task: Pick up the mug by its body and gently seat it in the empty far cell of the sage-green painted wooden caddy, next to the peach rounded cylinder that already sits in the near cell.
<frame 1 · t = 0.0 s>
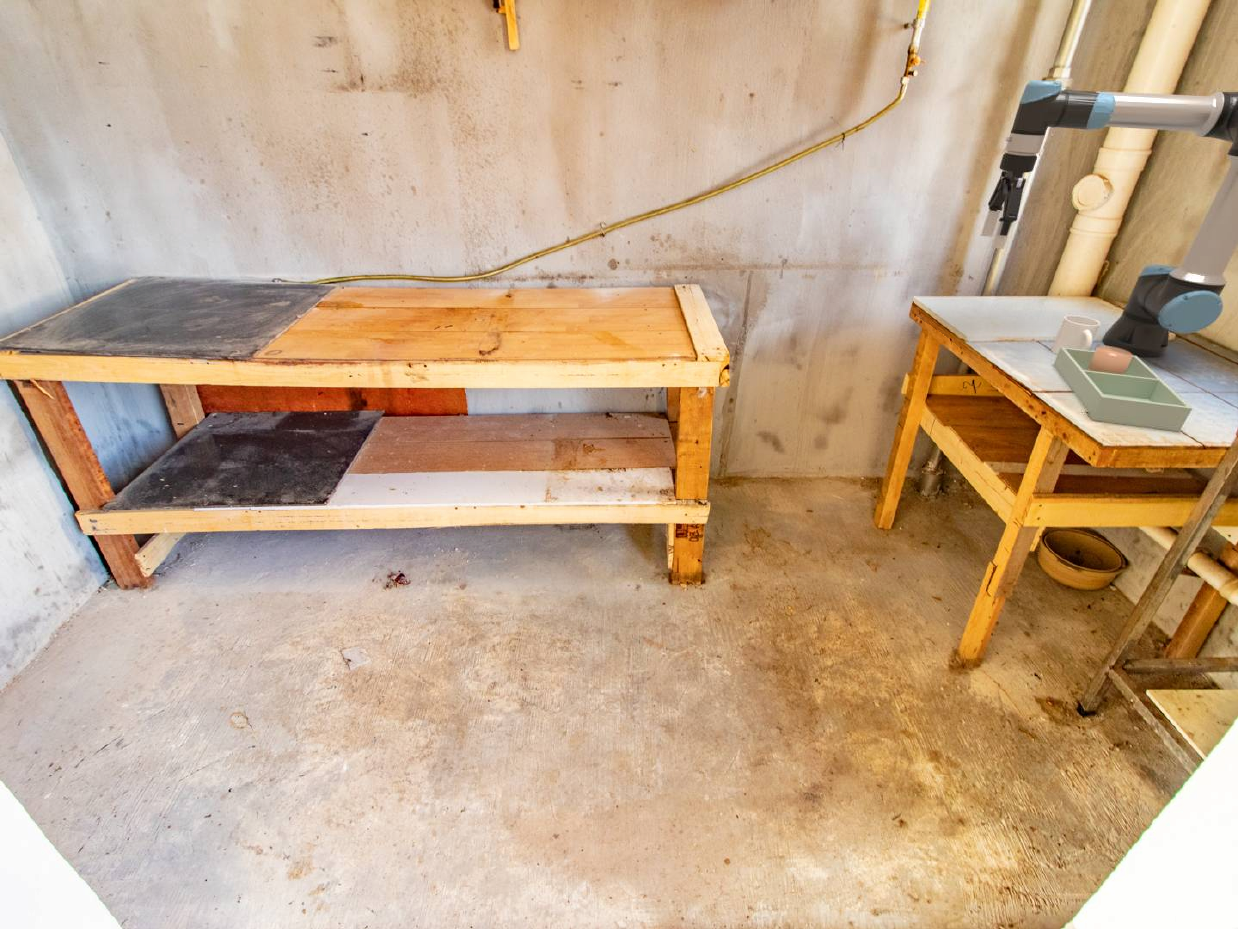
hand: (991, 241, 171), 28 cm above the table, fingers open, 13 cm apart
peach rounded cylinder: (1100, 381, 164), point 1 cm above the table, touching caddy
caddy: (1109, 396, 159), on the table
mug: (1069, 359, 179), on the table
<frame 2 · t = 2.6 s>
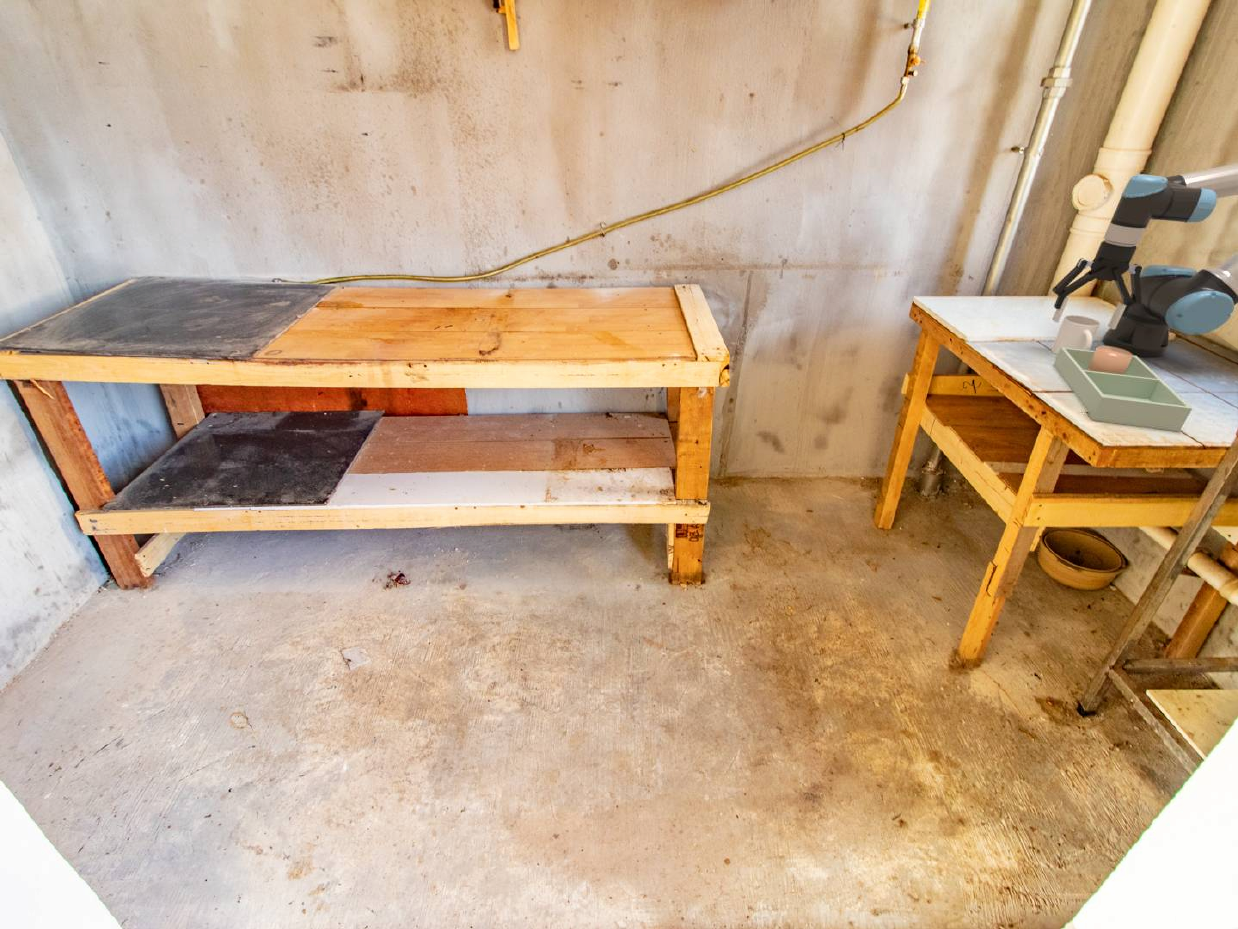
hand: (1083, 324, 174), 10 cm above the table, fingers open, 13 cm apart
nothing on the table moved.
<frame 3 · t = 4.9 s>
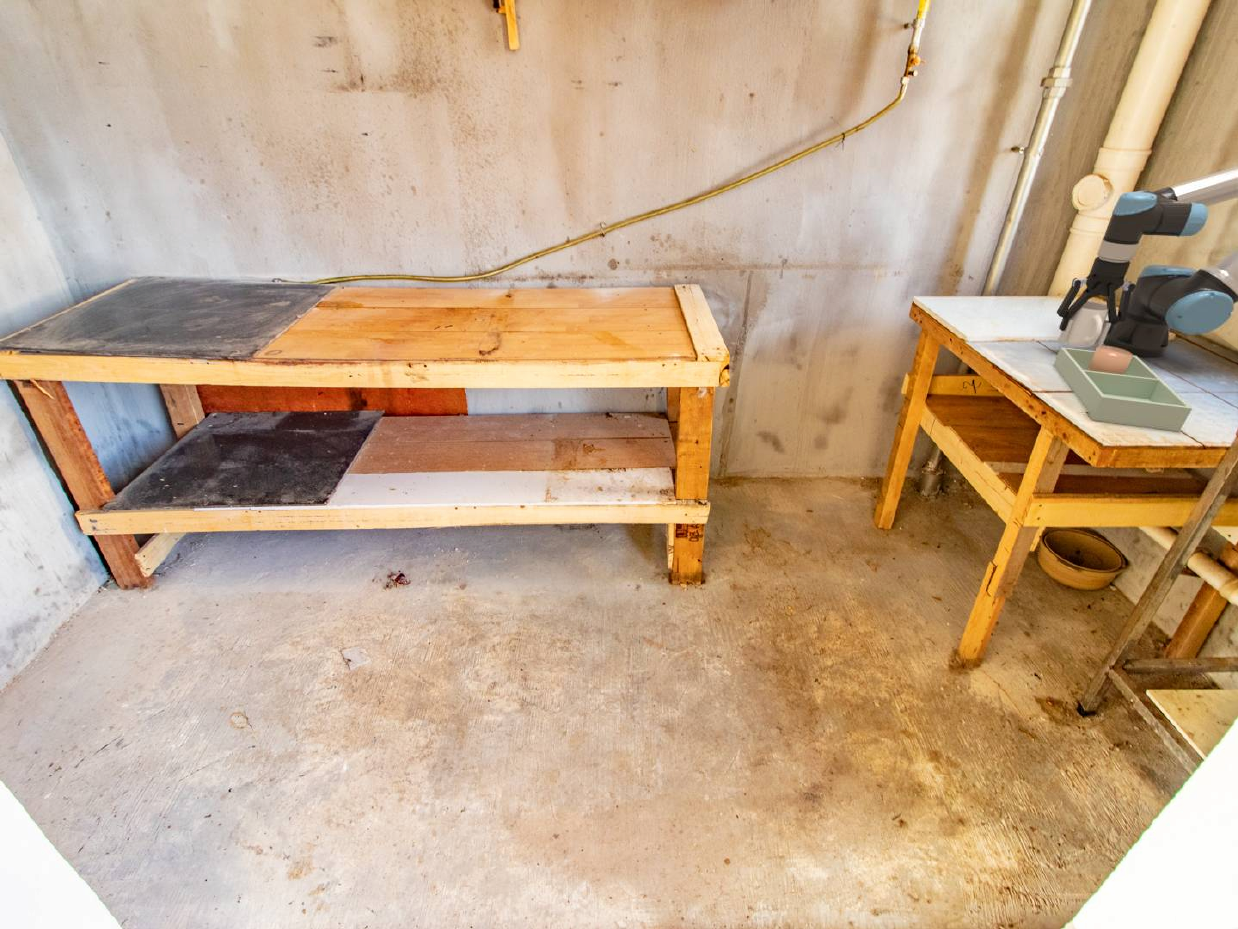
hand: (1079, 343, 176), 4 cm above the table, fingers closed on mug, 8 cm apart
mug: (1079, 345, 177), point 4 cm above the table, touching gripper
everything else where it was.
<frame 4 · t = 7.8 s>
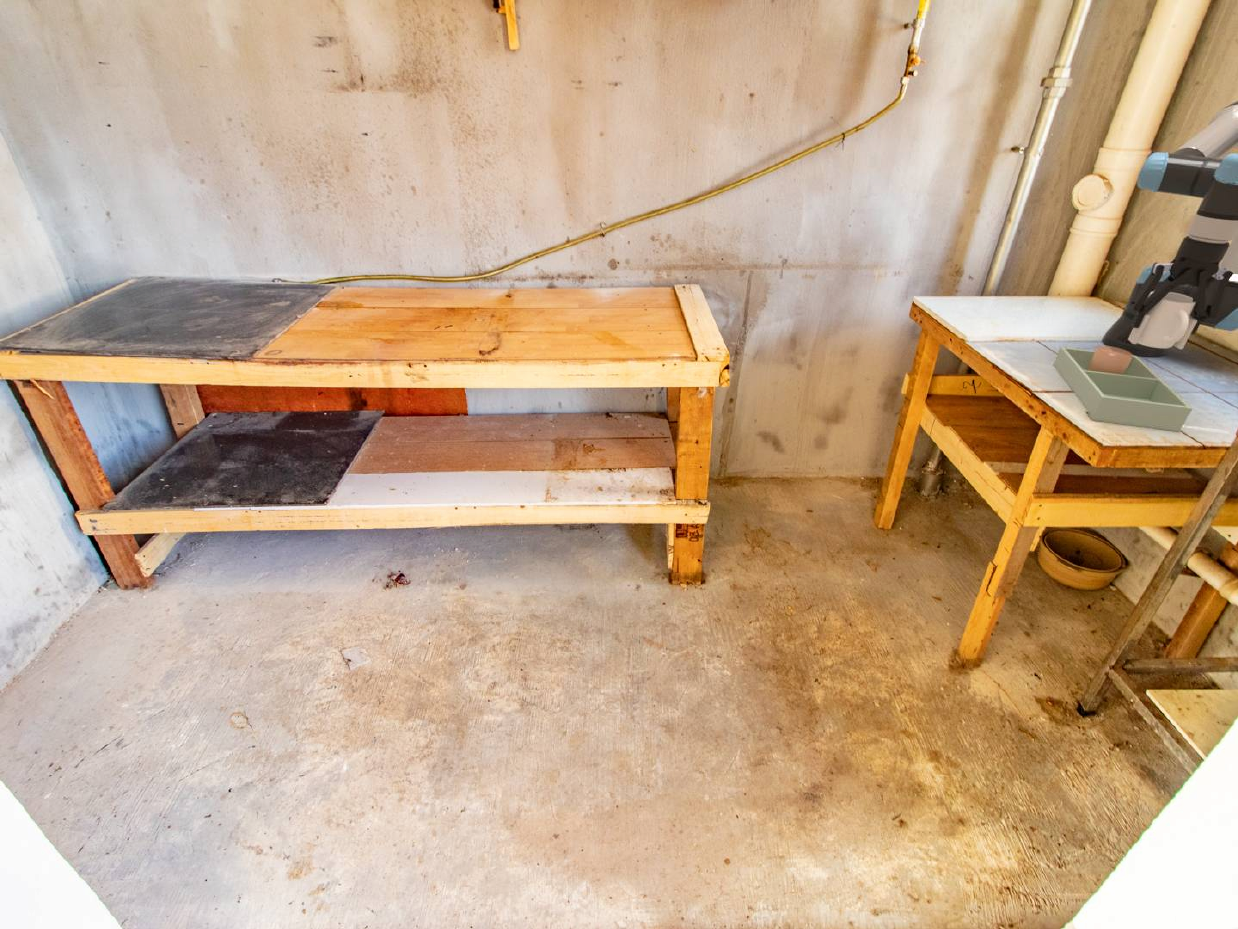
hand: (1154, 344, 144), 16 cm above the table, fingers closed on mug, 8 cm apart
mug: (1154, 346, 144), point 16 cm above the table, touching gripper
everything else where it was.
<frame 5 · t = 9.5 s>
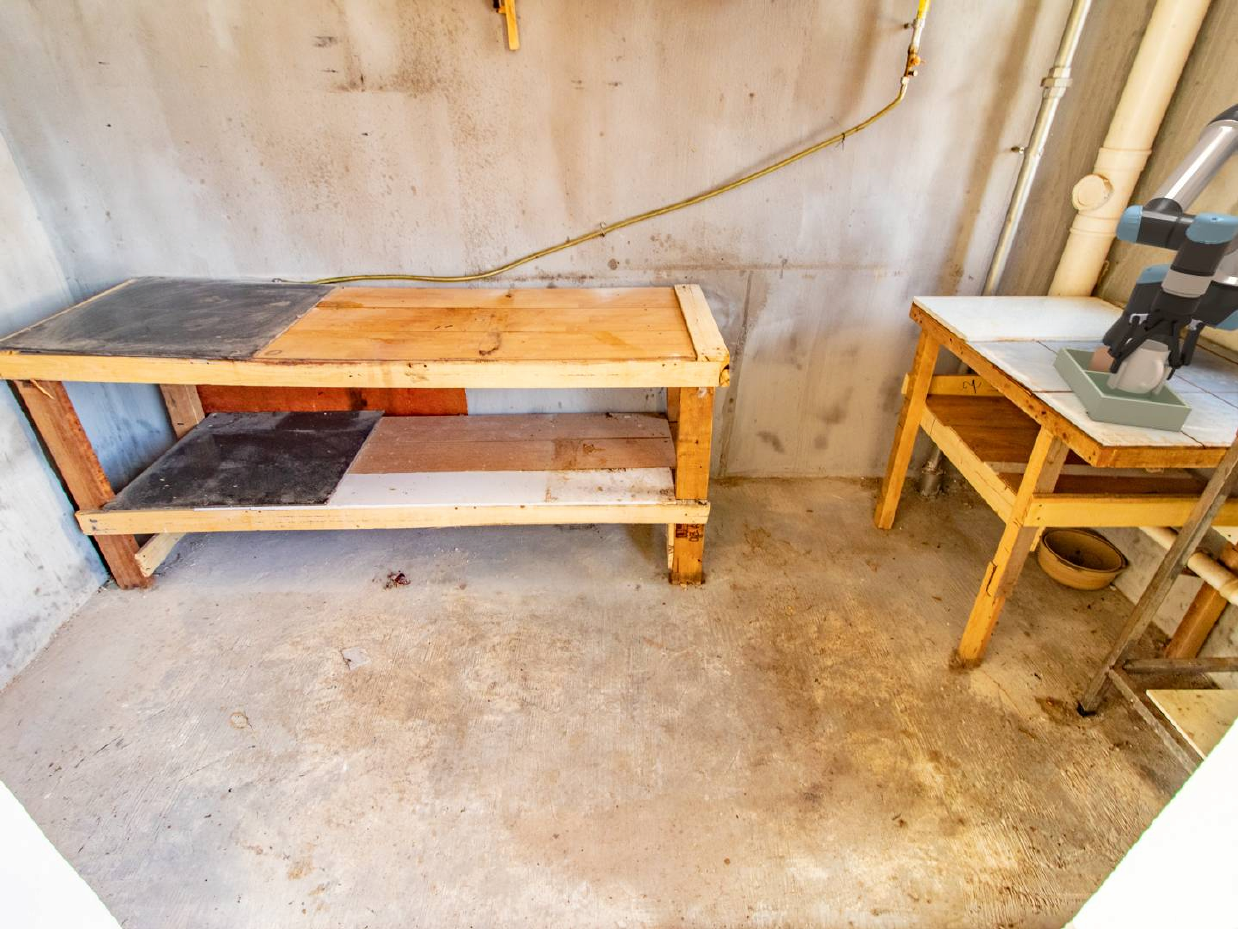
hand: (1132, 389, 150), 6 cm above the table, fingers closed on mug, 8 cm apart
mug: (1132, 390, 150), point 5 cm above the table, touching gripper
everything else where it was.
when the fingers open (3 cm above the table, at t = 10.6 s): mug drops 1 cm, resting on caddy.
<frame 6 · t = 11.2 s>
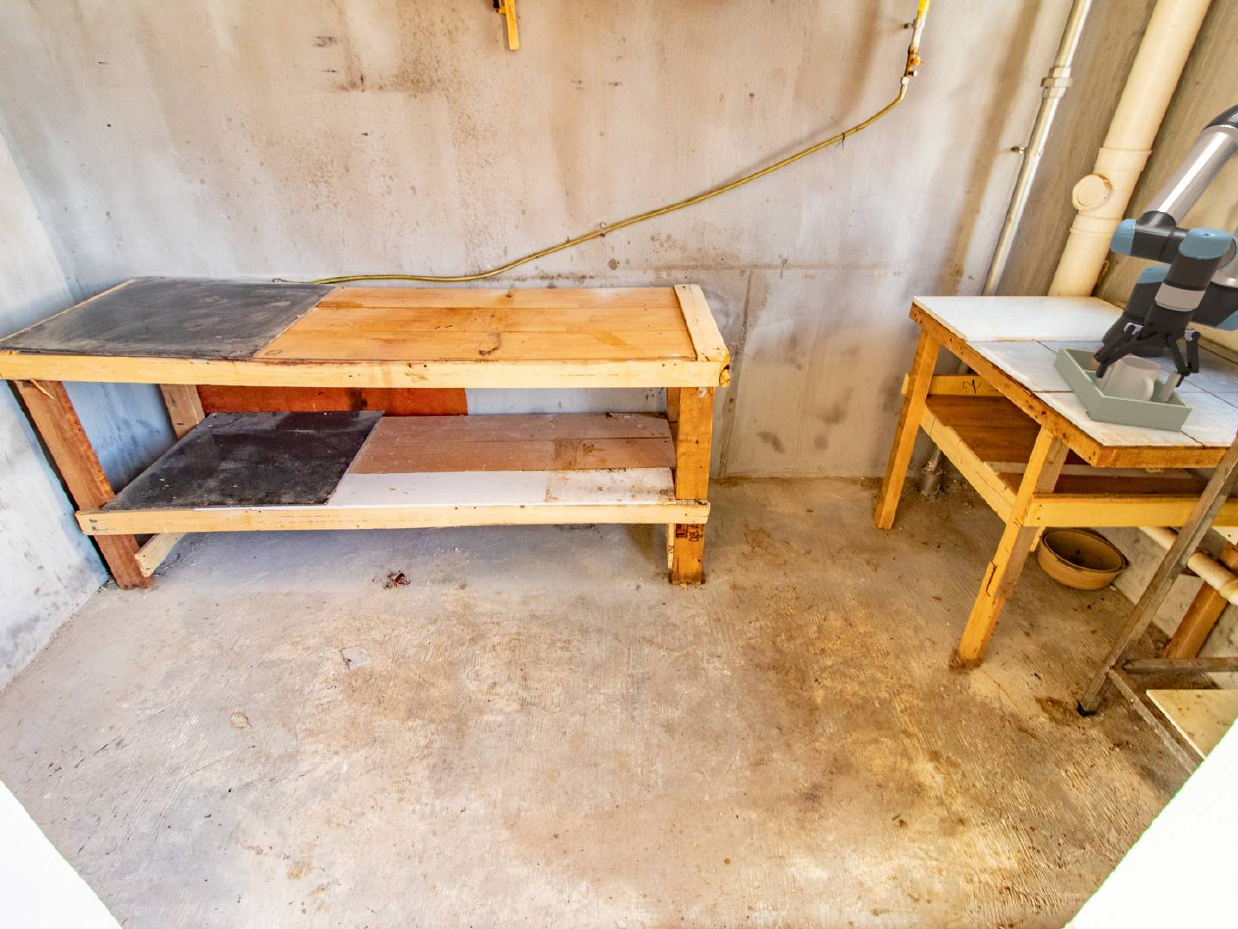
hand: (1129, 394, 150), 4 cm above the table, fingers open, 13 cm apart
mug: (1123, 407, 152), point 1 cm above the table, touching caddy
everything else where it was.
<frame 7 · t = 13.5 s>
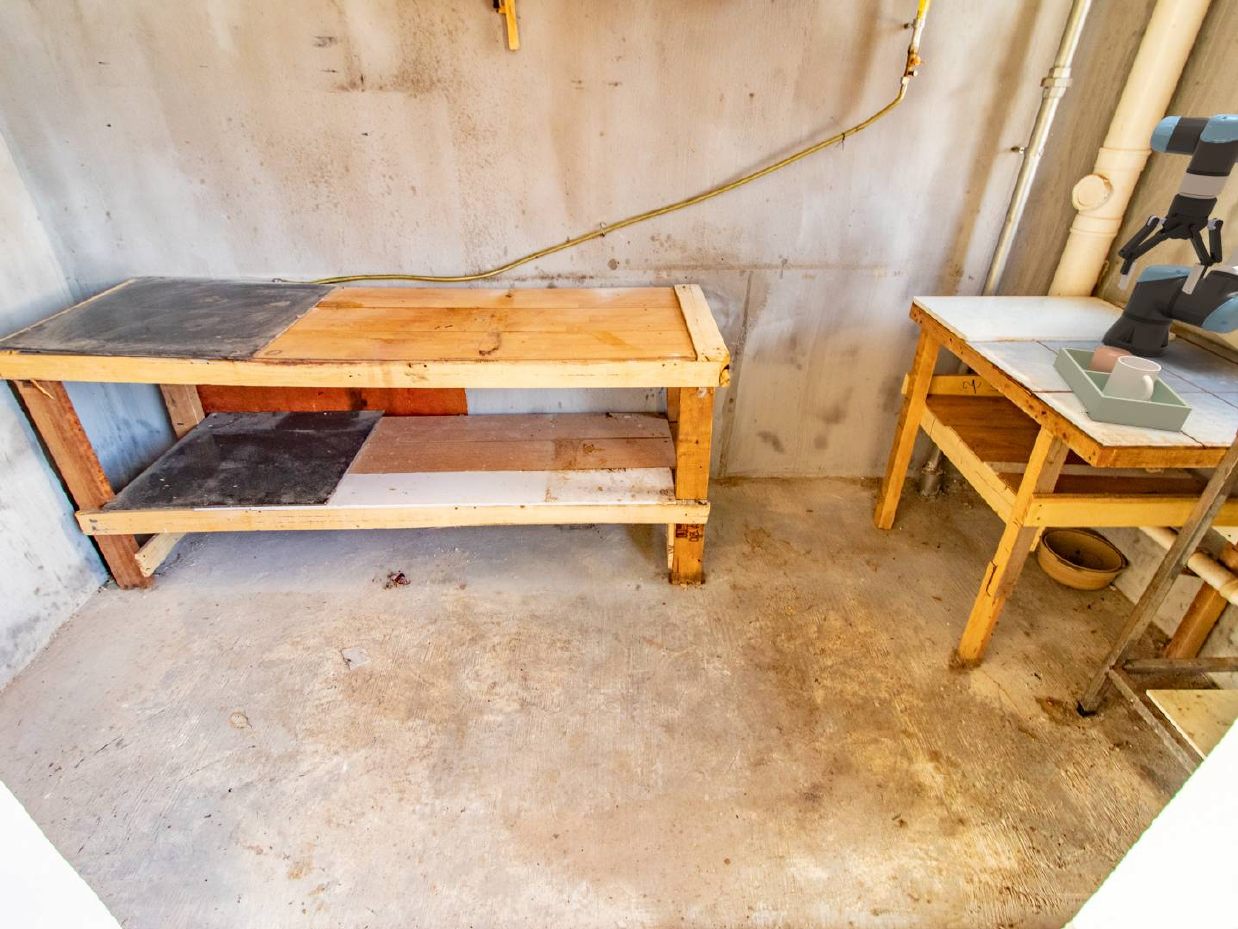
hand: (1153, 290, 154), 24 cm above the table, fingers open, 13 cm apart
nothing on the table moved.
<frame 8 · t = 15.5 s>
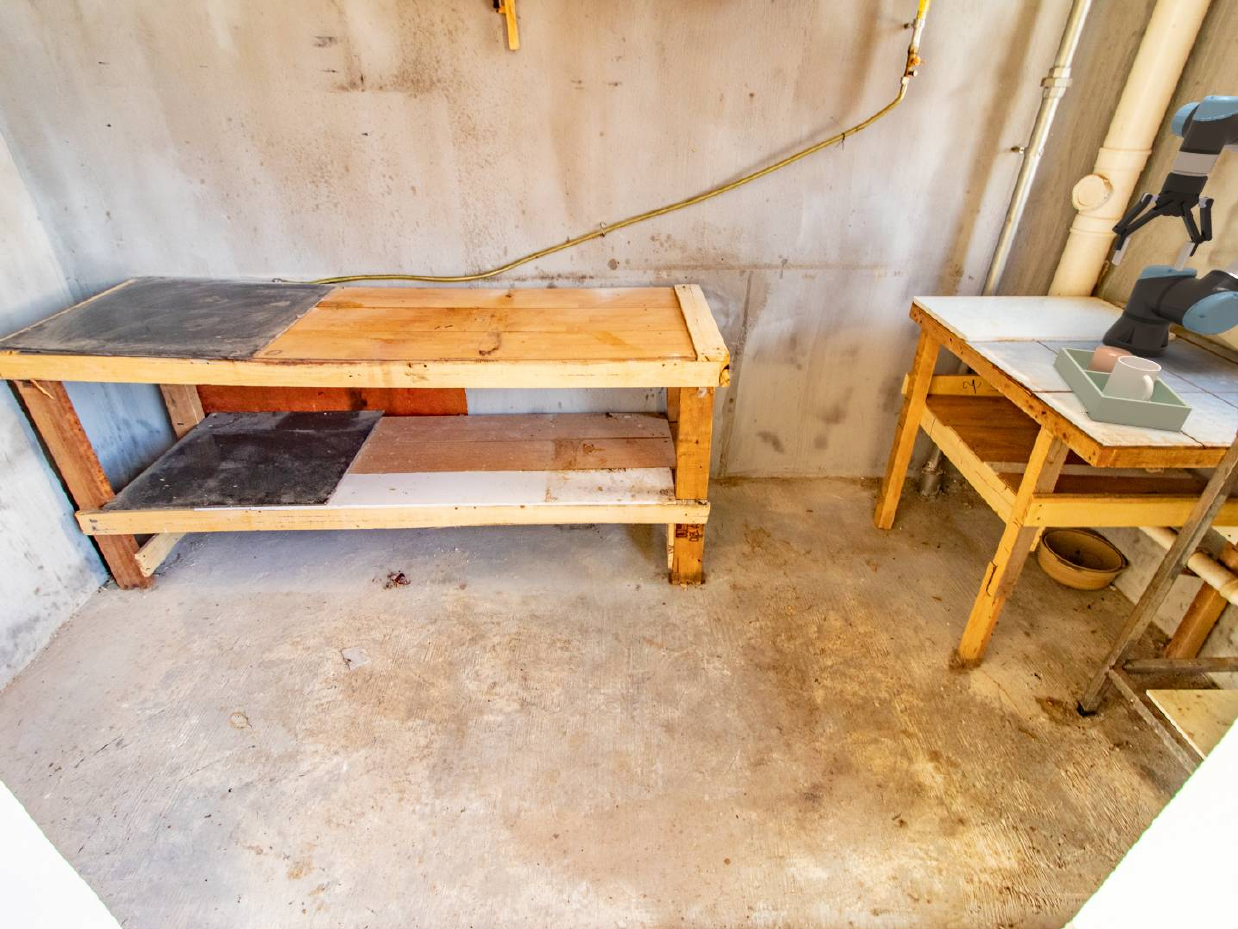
hand: (1145, 266, 160), 27 cm above the table, fingers open, 13 cm apart
nothing on the table moved.
at the end: mug inside the target area on the caddy (0.2 cm from its centre), point 0.6 cm above the caddy's base; mug tilted 0°; peach rounded cylinder moved 0.1 cm from its start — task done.
